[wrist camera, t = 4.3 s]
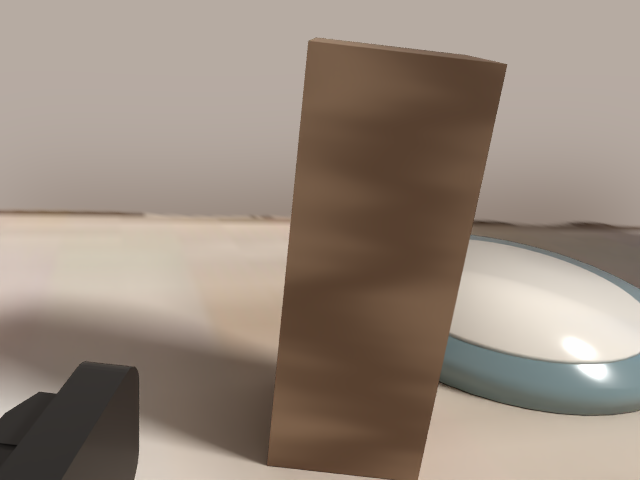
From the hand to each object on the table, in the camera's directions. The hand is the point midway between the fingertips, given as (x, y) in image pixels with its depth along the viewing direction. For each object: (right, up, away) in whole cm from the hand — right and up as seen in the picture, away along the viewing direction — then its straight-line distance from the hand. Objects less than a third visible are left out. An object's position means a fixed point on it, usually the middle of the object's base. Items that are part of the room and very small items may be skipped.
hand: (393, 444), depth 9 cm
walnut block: (0, -3, +10) cm, 11 cm away
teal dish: (+8, 0, +20) cm, 21 cm away
